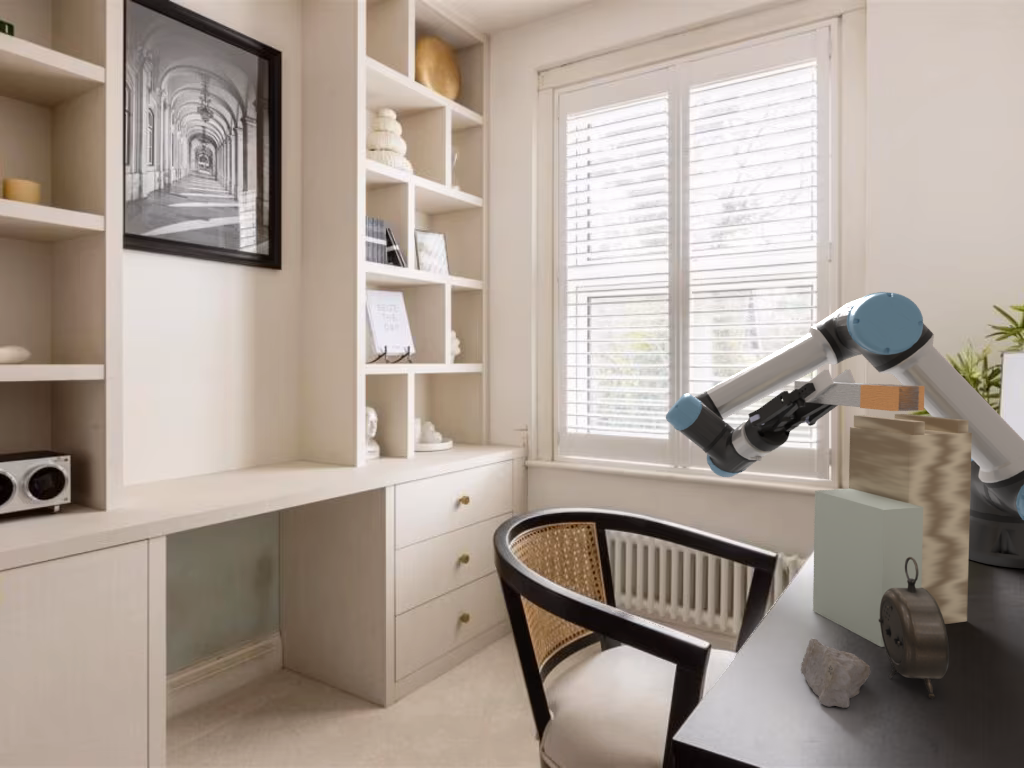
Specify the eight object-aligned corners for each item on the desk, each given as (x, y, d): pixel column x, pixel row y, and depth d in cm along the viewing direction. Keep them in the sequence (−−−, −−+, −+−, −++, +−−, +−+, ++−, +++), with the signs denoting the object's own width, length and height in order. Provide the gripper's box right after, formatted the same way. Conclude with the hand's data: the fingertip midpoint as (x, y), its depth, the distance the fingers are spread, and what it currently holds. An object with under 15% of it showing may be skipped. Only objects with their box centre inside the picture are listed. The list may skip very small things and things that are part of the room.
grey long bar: (815, 400, 115) (816, 380, 115) (923, 410, 94) (924, 386, 94) (789, 401, 114) (789, 381, 113) (892, 411, 92) (893, 386, 92)
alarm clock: (951, 705, 78) (954, 572, 78) (902, 700, 79) (904, 569, 79) (914, 663, 89) (917, 546, 88) (871, 659, 90) (873, 544, 89)
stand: (903, 594, 115) (907, 413, 113) (966, 621, 103) (972, 420, 102) (846, 601, 112) (850, 415, 110) (905, 629, 100) (910, 422, 99)
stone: (882, 719, 76) (883, 670, 75) (806, 707, 78) (806, 659, 78) (867, 679, 85) (868, 635, 85) (799, 670, 87) (800, 627, 87)
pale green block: (848, 606, 109) (850, 488, 109) (920, 641, 96) (923, 506, 95) (813, 610, 108) (815, 490, 107) (881, 646, 94) (884, 509, 93)
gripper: (803, 450, 126) (890, 396, 106) (728, 454, 122) (804, 398, 102) (791, 415, 130) (873, 356, 109) (717, 417, 125) (789, 356, 105)
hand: (840, 377), depth 106 cm, fingers closed on grey long bar, 3 cm apart
